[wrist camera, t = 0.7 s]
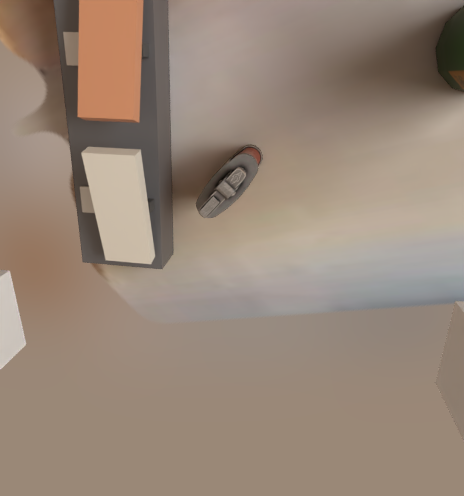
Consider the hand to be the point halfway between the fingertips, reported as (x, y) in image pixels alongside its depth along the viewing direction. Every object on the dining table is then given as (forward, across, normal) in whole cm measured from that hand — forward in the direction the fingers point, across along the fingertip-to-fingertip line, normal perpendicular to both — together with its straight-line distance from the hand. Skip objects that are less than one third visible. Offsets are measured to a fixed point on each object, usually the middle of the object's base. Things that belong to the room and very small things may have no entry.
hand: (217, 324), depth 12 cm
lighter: (+37, -4, -3) cm, 38 cm away
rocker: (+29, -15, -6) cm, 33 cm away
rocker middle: (+29, -15, +10) cm, 34 cm away
